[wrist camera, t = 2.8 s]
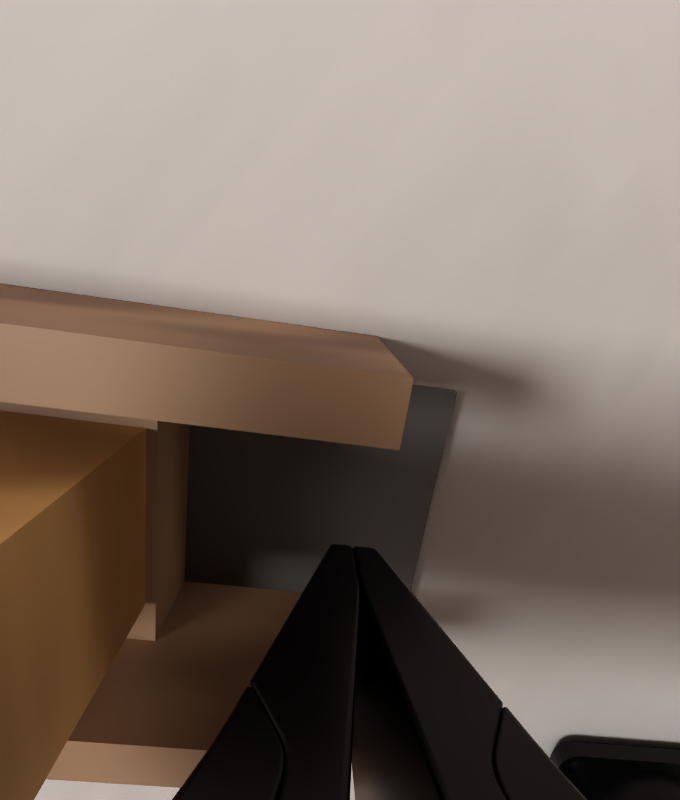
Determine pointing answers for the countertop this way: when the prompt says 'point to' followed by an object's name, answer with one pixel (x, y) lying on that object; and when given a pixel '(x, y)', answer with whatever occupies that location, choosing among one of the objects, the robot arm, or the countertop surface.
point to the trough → (222, 493)
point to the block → (63, 578)
